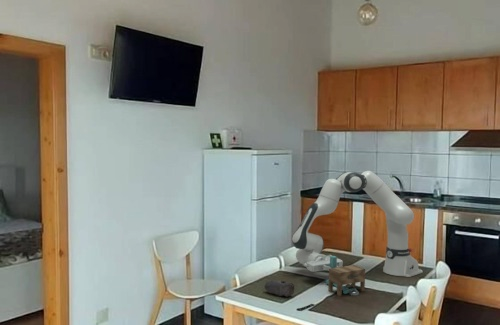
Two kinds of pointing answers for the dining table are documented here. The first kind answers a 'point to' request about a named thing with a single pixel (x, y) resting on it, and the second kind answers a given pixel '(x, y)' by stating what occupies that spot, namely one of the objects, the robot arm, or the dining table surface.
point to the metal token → (354, 292)
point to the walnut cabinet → (346, 277)
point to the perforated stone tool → (280, 288)
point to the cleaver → (305, 307)
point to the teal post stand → (333, 264)
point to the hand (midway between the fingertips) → (334, 268)
